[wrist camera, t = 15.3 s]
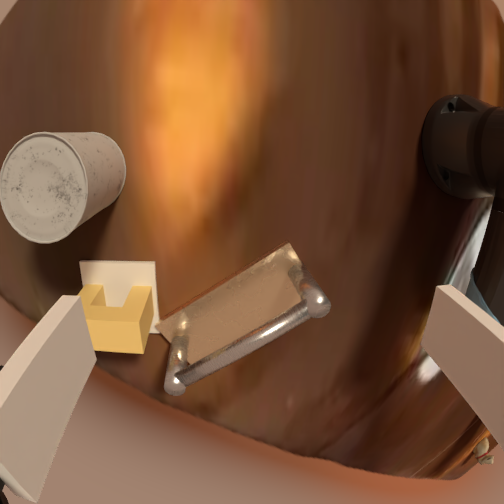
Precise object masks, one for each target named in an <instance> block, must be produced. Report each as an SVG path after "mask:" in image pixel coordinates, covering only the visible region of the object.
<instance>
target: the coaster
mask: <svg viewBox="0 0 504 504" xmlns="http://www.w3.org/2000/svg"><path fill="white" fill-rule="evenodd" d="M79 263H80V270H81V277H82V283H83V287H84V286H85V284H99V285H103V287H104V294H105V301H106V306H110V307H123V305H124V303H125V300H126V298H127V296H128V294H129V292H130V290H131V288H132V286H152V294H153V306H154V317H153V320H152V324H151V328H150V331H149V333H160V331H159V330H158V329H157V328H156V327H155V324H156V323H157V322H159V308H158V296H157V282H156V265H155V262H150V261H95V260H81V261H80V262H79Z"/></svg>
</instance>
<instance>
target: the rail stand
mask: <svg viewBox="0 0 504 504" xmlns="http://www.w3.org/2000/svg"><path fill="white" fill-rule="evenodd" d="M330 308H331V304H330V301H329V300H328V298H327V297H326V295H325V294H324V293H323V291H322V290H321V288H320V287H319V285H318V284H317V282H316V281H315V280H314V278H313V277H312V275H311V274H310V272H309V271H308V270H307V268H306V267H305V265H304V264H303V263H302V262H301V261H300V260H299V258H298V256H297V255H296V253H295V251H294V250H293V248H292V247H291V245H290V243H289V242H288V240H286V241H284V242H283V243H281V244H279V245H278V246H276V247H275V248H273V249H271V250H270V251H268V252H267V253H265V254H263V255H262V256H260V257H259V258H257V259H255V260H254V261H252V262H251V263H249V264H247V265H246V266H244V267H243V268H241V269H239V270H238V271H236V272H235V273H233V274H231V275H230V276H228V277H227V278H225V279H223V280H222V281H220V282H219V283H217V284H215V285H214V286H212V287H211V288H209V289H207V290H206V291H204V292H202V293H201V294H199V295H198V296H196V297H194V298H193V299H191V300H190V301H188V302H186V303H185V304H183V305H181V306H180V307H178V308H177V309H175V310H173V311H172V312H170V313H169V314H167V315H165V316H164V317H162V318H160V319H159V322H157V323H156V324H155V327H156V328H157V329H158V330H159V331H160V332H161V333H162V334H163V336H164V337H165V338H166V339H167V340H168V341H169V342H170V343H171V344H170V350H169V357H168V363H167V370H166V377H165V384H164V389H165V391H166V392H167V393H168V394H170V395H174V396H178V395H182V394H183V393H184V392H185V388H186V387H187V386H189V385H191V384H193V383H195V382H197V381H199V380H201V379H203V378H205V377H207V376H209V375H211V374H212V373H214V372H216V371H218V370H220V369H222V368H224V367H226V366H228V365H230V364H231V363H233V362H235V361H237V360H239V359H241V358H243V357H244V356H246V355H248V354H250V353H252V352H253V351H255V350H257V349H259V348H261V347H262V346H264V345H266V344H268V343H269V342H271V341H273V340H275V339H276V338H278V337H280V336H281V335H283V334H285V333H287V332H288V331H290V330H292V329H293V328H295V327H297V326H298V325H300V324H302V323H303V322H305V321H307V320H308V319H310V318H312V317H313V318H321V317H324V316H325V315H326V314H327V313H328V312H329V311H330ZM187 361H188V362H189V363H190V364H191V365H189V366H187Z"/></svg>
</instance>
